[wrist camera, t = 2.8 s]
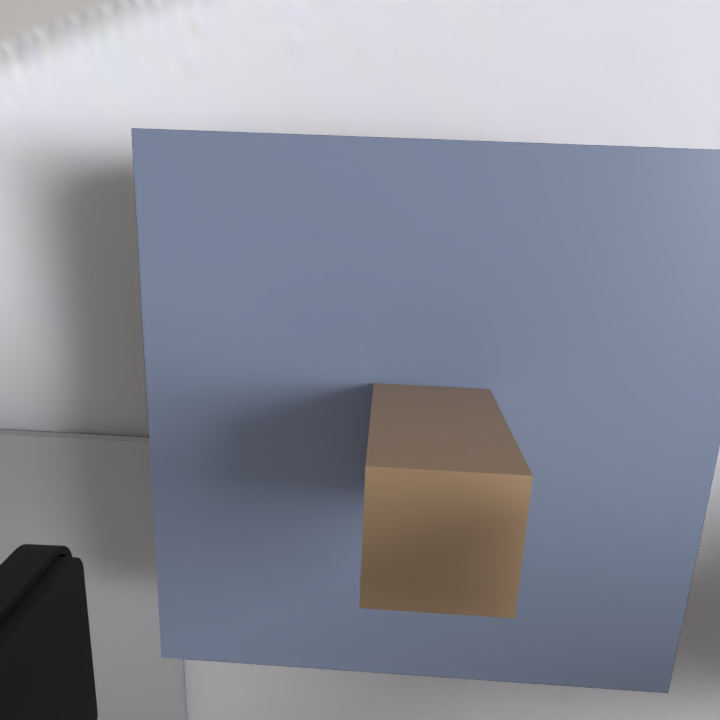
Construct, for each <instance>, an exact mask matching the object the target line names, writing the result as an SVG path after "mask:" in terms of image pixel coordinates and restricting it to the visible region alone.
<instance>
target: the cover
mask: <svg viewBox="0 0 720 720" xmlns="http://www.w3.org/2000/svg"><path fill="white" fill-rule="evenodd" d="M131 129H132V147H133V165H134V182H135V200H136V218H137V235H138V253H139V271H140V288H141V306H142V324H143V342H144V359H145V377H146V395H147V412H148V430H149V448H150V465H151V483H152V501H153V518H154V536H155V554H156V571H157V589H158V607H159V624H160V642H161V658H175V659H189V660H203V661H218V662H232V663H246V664H260V665H275V666H289V667H303V668H318V669H332V670H346V671H361V672H375V673H389V674H403V675H418V676H432V677H446V678H461V679H475V680H489V681H503V682H518V683H532V684H546V685H561V686H575V687H589V688H603V689H618V690H632V691H646V692H661V693H668V690H669V686H670V681H671V676H672V671H673V666H674V662H675V657H676V652H677V647H678V643H679V638H680V633H681V628H682V623H683V619H684V614H685V609H686V604H687V599H688V595H689V590H690V585H691V580H692V575H693V571H694V566H695V561H696V556H697V552H698V547H699V542H700V537H701V532H702V528H703V523H704V518H705V513H706V508H707V504H708V499H709V494H710V489H711V484H712V480H713V475H714V470H715V465H716V461H717V456H718V451H719V446H720V150H713V149H686V148H659V147H631V146H604V145H577V144H549V143H522V142H495V141H468V140H440V139H413V138H386V137H358V136H331V135H304V134H276V133H249V132H222V131H195V130H167V129H140V128H131Z"/></svg>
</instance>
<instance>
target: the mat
mask: <svg viewBox="0 0 720 720" xmlns="http://www.w3.org/2000/svg"><path fill="white" fill-rule="evenodd" d="M23 544H39V545H60V546H66V547H68V548H69V549H70V551H71V553H72V557H78V558H80V559H81V561H82V562H83V567H84V577H85V587H86V597H87V607H88V618H89V628H90V638H91V649H92V659H93V669H94V680H95V690H96V700H97V710H98V718H97V720H186V699H185V677H184V659H175V658H161V642H160V624H159V607H158V589H157V571H156V554H155V536H154V518H153V501H152V483H151V465H150V448H149V437H132V436H114V435H97V434H79V433H61V432H43V431H25V430H8V429H0V565H1V564H2V563H3V562H4V561H5V560H6V559H7V557H8V556H9V555H10V554H11V553H12V552H13V551H14V550H15V549H17V548H18V547H19V546H21V545H23Z"/></svg>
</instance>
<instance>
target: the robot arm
mask: <svg viewBox="0 0 720 720" xmlns="http://www.w3.org/2000/svg"><path fill="white" fill-rule="evenodd" d="M97 718H98V710H97V700H96V690H95V680H94V669H93V659H92V649H91V638H90V628H89V618H88V607H87V597H86V587H85V577H84V567H83V562H82V561H81V559H80V558H78V557H72V553H71V551H70V549H69V548H68V547H66V546H60V545H39V544H23V545H21V546H19V547H18V548H17V549H15V550H14V551H13V552H12V553H11V554H10V555H9V556H8V557H7V559H6V560H5V561H4V562H3V563H2V564H1V565H0V720H97Z"/></svg>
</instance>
